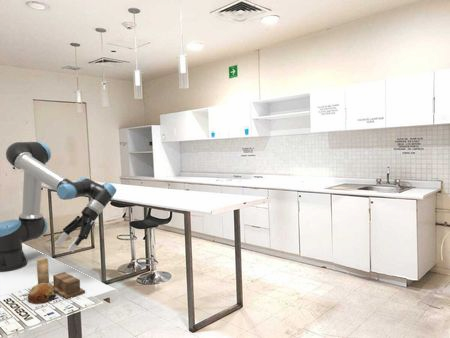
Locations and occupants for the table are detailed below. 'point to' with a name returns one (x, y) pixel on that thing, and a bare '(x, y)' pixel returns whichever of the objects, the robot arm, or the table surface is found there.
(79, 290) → the base
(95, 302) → the table surface
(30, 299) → the bread roll
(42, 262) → the post
